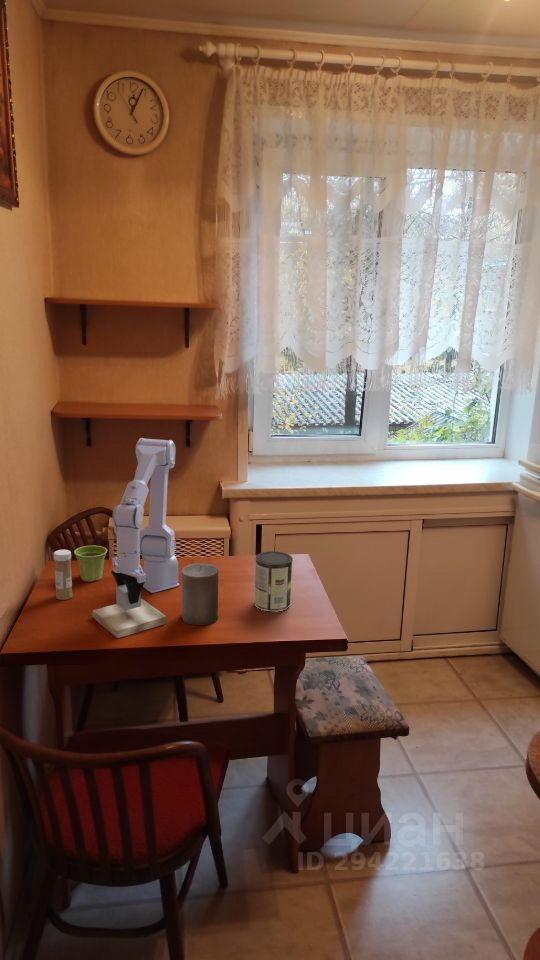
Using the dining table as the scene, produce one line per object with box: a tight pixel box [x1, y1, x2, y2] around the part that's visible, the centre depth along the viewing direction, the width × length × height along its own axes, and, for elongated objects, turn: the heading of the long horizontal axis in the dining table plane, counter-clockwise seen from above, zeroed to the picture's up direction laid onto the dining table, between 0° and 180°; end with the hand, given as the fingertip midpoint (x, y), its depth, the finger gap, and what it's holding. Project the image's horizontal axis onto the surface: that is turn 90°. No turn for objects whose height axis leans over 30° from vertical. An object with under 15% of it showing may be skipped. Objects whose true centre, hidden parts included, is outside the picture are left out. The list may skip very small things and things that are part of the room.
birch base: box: [92, 598, 167, 639], centre depth 178 cm, size 14×14×2 cm
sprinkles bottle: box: [53, 549, 74, 601], centre depth 189 cm, size 5×5×13 cm
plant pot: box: [73, 545, 108, 583], centre depth 203 cm, size 9×9×9 cm
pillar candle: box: [181, 562, 219, 626], centre depth 180 cm, size 10×10×15 cm
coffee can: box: [253, 550, 294, 613], centre depth 189 cm, size 10×10×14 cm
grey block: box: [115, 584, 142, 611], centre depth 177 cm, size 5×5×5 cm
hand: (129, 599), depth 177 cm, fingers closed on grey block, 5 cm apart
